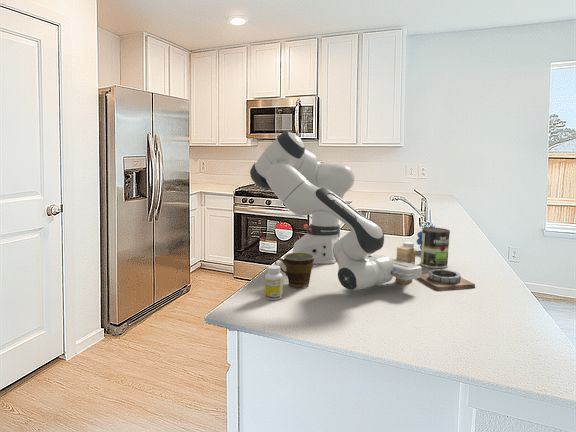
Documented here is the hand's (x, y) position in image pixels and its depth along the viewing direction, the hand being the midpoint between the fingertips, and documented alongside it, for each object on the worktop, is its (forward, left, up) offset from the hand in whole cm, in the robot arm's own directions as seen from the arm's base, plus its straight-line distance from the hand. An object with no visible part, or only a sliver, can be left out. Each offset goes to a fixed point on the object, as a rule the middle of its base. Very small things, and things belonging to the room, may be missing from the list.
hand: (406, 262), depth 151 cm
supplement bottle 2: (+9, +16, -7) cm, 19 cm away
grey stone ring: (+12, -4, -5) cm, 14 cm away
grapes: (+31, +37, -7) cm, 49 cm away
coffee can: (+21, +17, -7) cm, 28 cm away
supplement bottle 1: (-48, -6, -7) cm, 49 cm away
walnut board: (+12, -4, -7) cm, 14 cm away
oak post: (-1, 0, -7) cm, 7 cm away
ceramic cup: (-39, +4, -7) cm, 40 cm away
